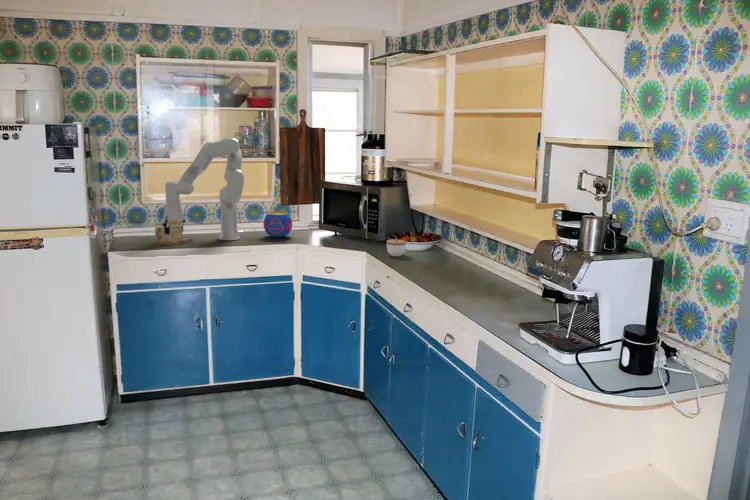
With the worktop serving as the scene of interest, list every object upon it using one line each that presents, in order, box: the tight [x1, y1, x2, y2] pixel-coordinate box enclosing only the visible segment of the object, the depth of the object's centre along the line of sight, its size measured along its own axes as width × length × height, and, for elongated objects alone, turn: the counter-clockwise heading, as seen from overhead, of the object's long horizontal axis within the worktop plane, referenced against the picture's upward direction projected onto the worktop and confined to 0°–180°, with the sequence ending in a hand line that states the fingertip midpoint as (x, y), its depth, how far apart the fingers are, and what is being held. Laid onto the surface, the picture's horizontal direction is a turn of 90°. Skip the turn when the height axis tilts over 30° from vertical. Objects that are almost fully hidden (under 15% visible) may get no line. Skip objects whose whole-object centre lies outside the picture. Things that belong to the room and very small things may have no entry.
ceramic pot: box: [262, 211, 293, 239], centre depth 397 cm, size 18×18×15 cm
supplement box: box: [166, 219, 184, 242], centre depth 373 cm, size 8×5×13 cm, turn 143°
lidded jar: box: [386, 237, 407, 257], centre depth 356 cm, size 11×11×9 cm
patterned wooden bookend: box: [154, 225, 194, 247], centre depth 373 cm, size 16×13×9 cm
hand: (174, 232), depth 373 cm, fingers open, 9 cm apart
